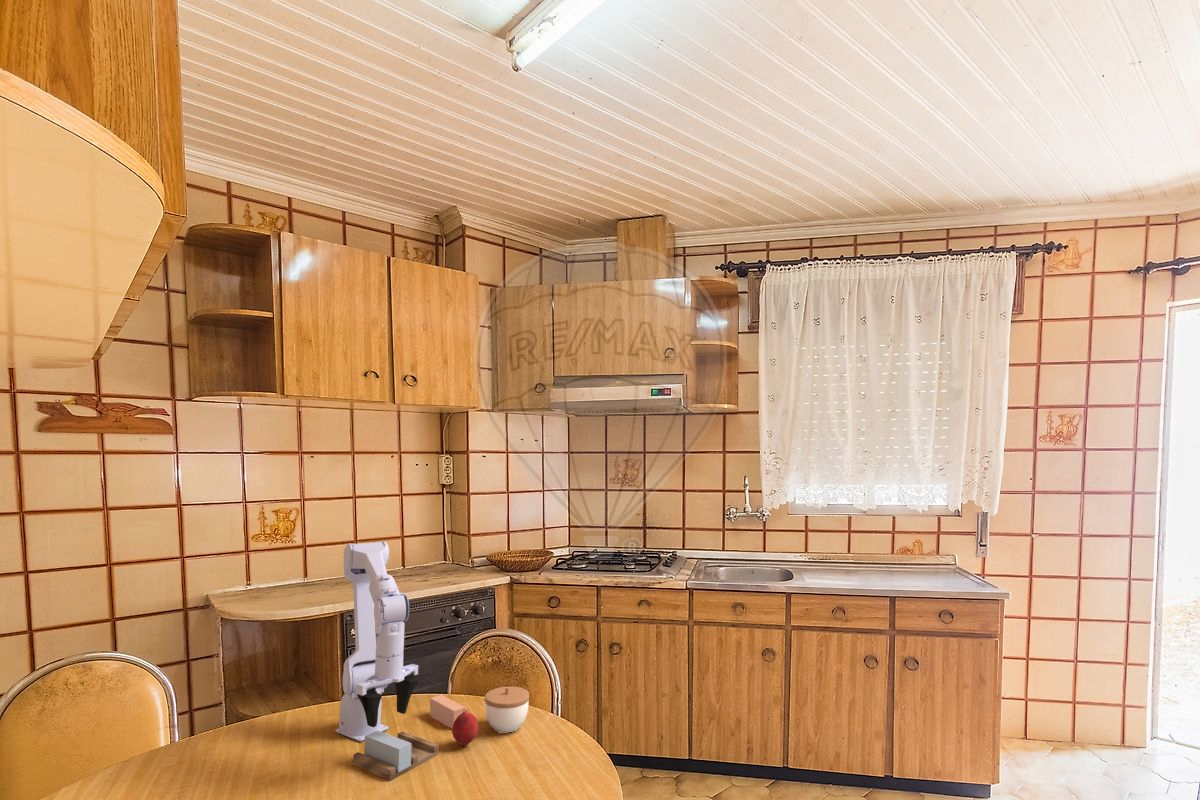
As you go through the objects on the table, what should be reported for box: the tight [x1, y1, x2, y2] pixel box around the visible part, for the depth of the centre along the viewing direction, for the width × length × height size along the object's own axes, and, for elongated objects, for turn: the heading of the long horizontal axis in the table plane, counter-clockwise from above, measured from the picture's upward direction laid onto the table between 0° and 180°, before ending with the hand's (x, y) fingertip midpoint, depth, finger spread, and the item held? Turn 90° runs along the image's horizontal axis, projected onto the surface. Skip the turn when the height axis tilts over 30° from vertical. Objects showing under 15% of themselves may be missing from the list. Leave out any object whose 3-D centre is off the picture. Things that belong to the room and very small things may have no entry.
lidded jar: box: [484, 686, 530, 734], centre depth 145 cm, size 11×11×9 cm
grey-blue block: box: [363, 730, 412, 772], centre depth 127 cm, size 11×3×4 cm, turn 58°
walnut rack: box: [352, 731, 440, 782], centre depth 129 cm, size 12×13×2 cm
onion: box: [451, 707, 479, 747], centre depth 136 cm, size 6×6×8 cm
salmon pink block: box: [429, 694, 466, 730], centre depth 148 cm, size 11×3×4 cm, turn 46°
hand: (387, 719), depth 128 cm, fingers open, 7 cm apart
